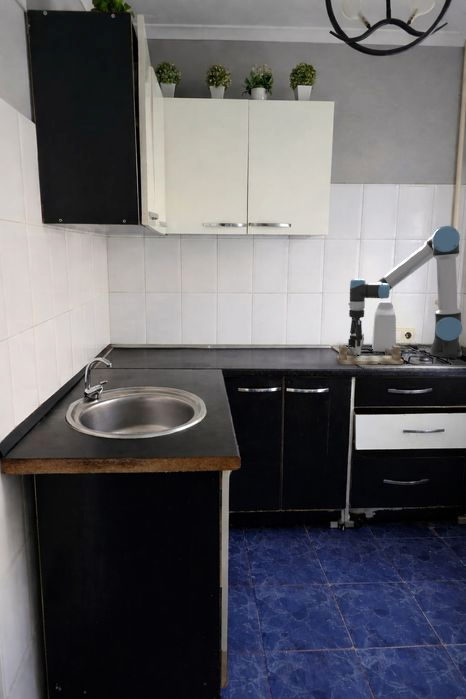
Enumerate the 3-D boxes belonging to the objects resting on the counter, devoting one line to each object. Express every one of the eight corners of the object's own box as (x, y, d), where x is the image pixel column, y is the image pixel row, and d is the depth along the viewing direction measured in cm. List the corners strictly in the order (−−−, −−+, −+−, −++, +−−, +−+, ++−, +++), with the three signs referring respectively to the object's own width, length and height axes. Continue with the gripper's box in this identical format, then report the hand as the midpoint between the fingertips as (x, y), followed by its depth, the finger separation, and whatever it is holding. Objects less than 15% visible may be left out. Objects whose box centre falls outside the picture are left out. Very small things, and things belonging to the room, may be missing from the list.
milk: (372, 351, 277) (374, 303, 272) (371, 347, 288) (373, 300, 283) (396, 351, 274) (398, 303, 269) (394, 347, 285) (396, 301, 280)
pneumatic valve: (363, 353, 272) (364, 331, 269) (357, 357, 262) (357, 334, 260) (353, 352, 275) (354, 330, 272) (346, 356, 265) (347, 333, 262)
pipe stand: (396, 358, 259) (397, 343, 257) (403, 363, 247) (404, 348, 245) (336, 358, 260) (337, 344, 258) (340, 364, 248) (341, 349, 247)
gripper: (345, 306, 276) (344, 345, 280) (353, 312, 251) (352, 354, 256) (359, 306, 275) (358, 345, 280) (369, 312, 251) (367, 354, 255)
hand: (355, 349), depth 268 cm, fingers open, 13 cm apart
